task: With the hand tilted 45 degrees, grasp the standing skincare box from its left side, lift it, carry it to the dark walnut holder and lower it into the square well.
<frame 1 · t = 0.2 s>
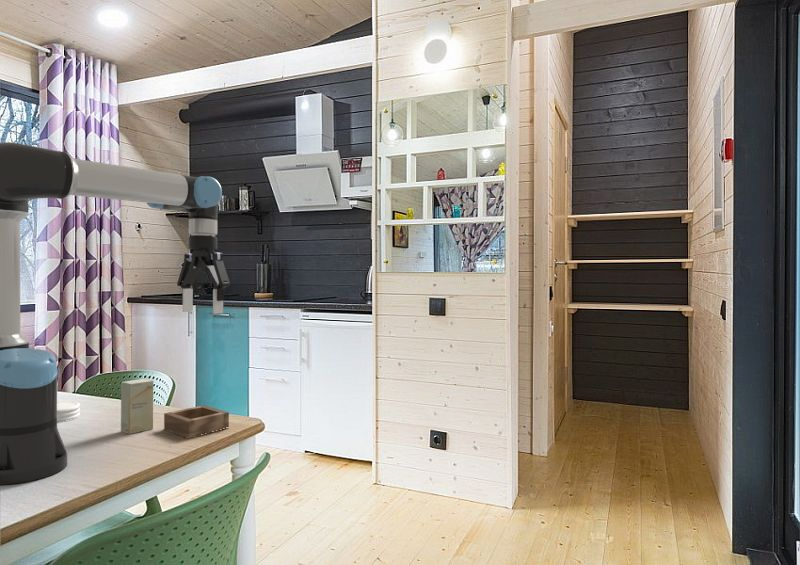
hand: (202, 312, 158), 28 cm above the table, tool pointing down, fingers open, 13 cm apart
skincare box: (137, 430, 141), on the table
holder: (196, 428, 142), on the table
white round piece: (58, 419, 151), on the table
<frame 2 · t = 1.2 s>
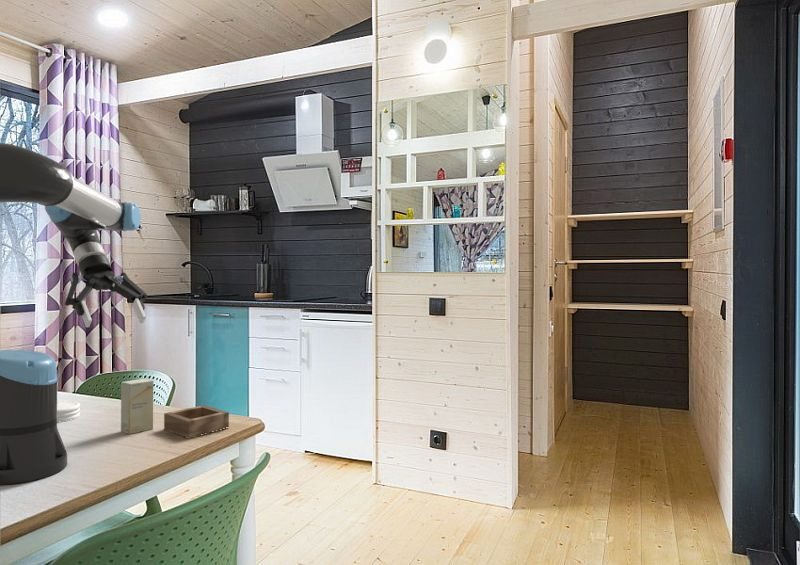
hand: (117, 321, 148), 26 cm above the table, tool tilted 45°, fingers open, 13 cm apart
nothing on the table moved.
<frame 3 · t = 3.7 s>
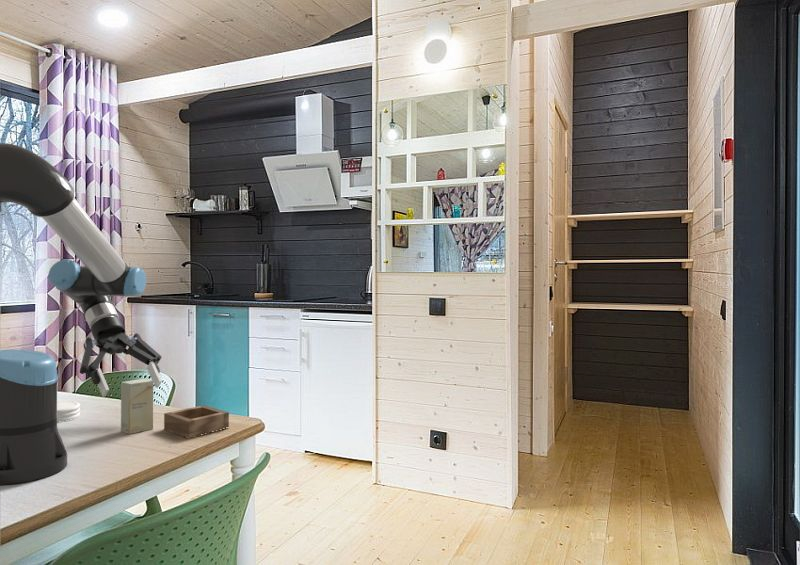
hand: (133, 388, 144), 9 cm above the table, tool tilted 45°, fingers open, 13 cm apart
nothing on the table moved.
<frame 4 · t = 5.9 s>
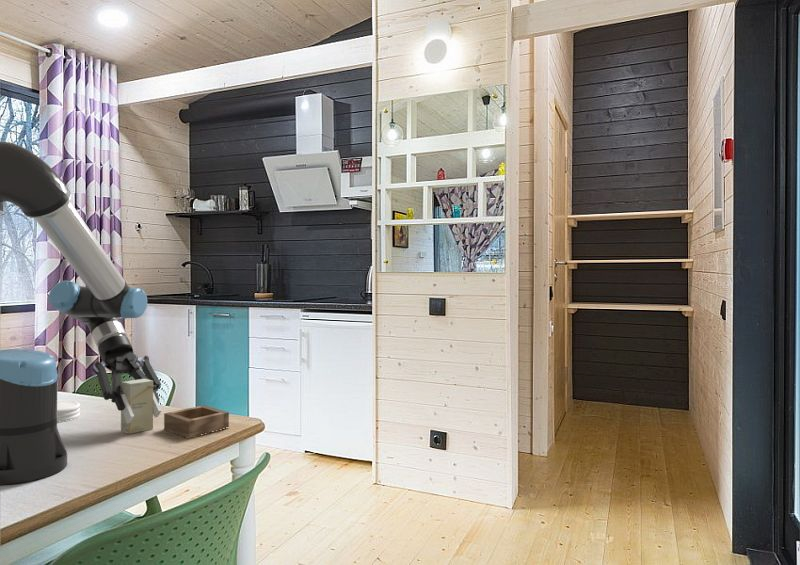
hand: (144, 416, 138), 4 cm above the table, tool tilted 45°, fingers closed on skincare box, 6 cm apart
skincare box: (137, 430, 141), on the table, touching gripper
everything else where it was.
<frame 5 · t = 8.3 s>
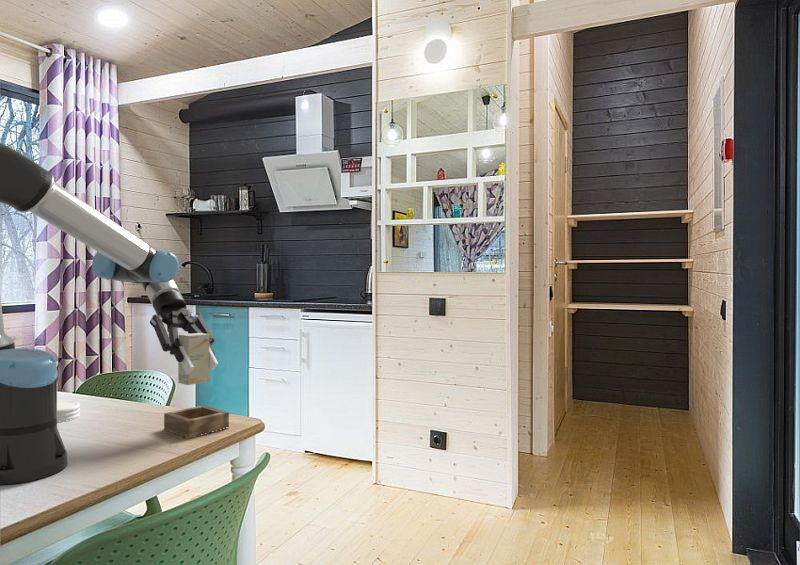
hand: (202, 368, 140), 15 cm above the table, tool tilted 45°, fingers closed on skincare box, 6 cm apart
skincare box: (193, 383, 142), point 11 cm above the table, touching gripper
everything else where it was.
when the fingers open (6 cm above the table, at t = 10.5 s): skincare box stays where it is, resting on holder.
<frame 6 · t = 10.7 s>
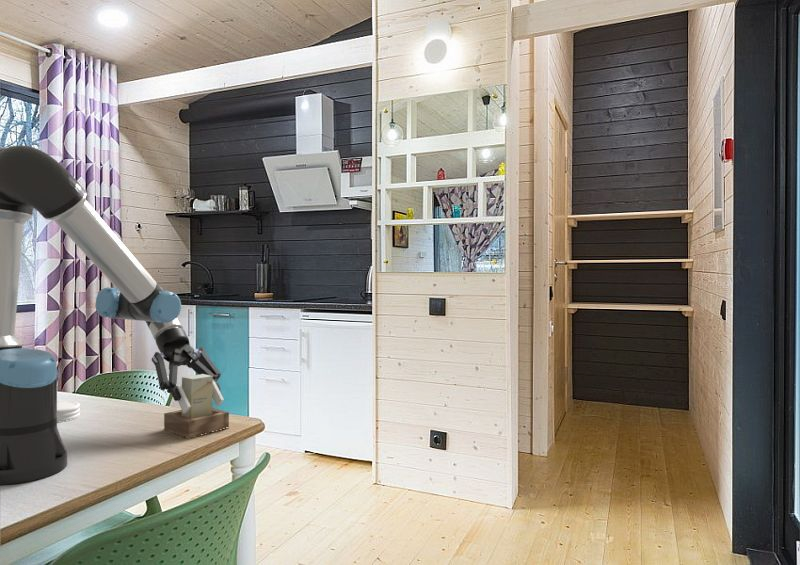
hand: (204, 406, 140), 6 cm above the table, tool tilted 45°, fingers open, 8 cm apart
skincare box: (197, 425, 142), point 1 cm above the table, touching holder
everything else where it was.
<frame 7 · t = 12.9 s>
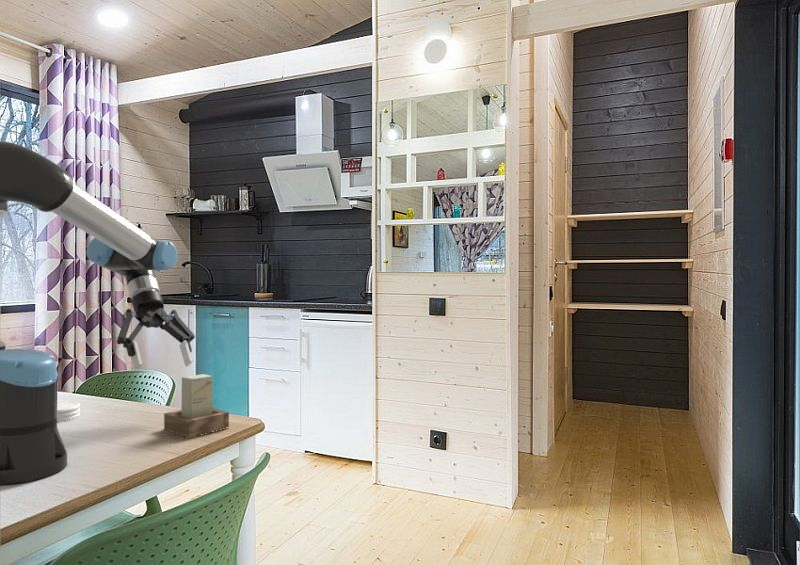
hand: (164, 365, 147), 15 cm above the table, tool tilted 35°, fingers open, 13 cm apart
nothing on the table moved.
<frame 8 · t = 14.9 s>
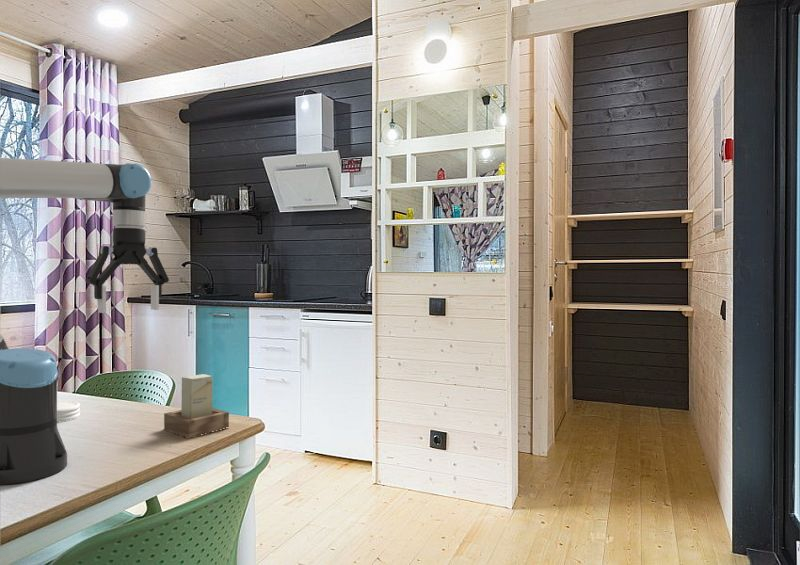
hand: (129, 311, 146), 29 cm above the table, tool pointing down, fingers open, 13 cm apart
nothing on the table moved.
at the end: skincare box 0.1 cm off-centre on the holder, point 0.8 cm above the holder's base; skincare box tilted 0°; the gripper is holding nothing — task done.
